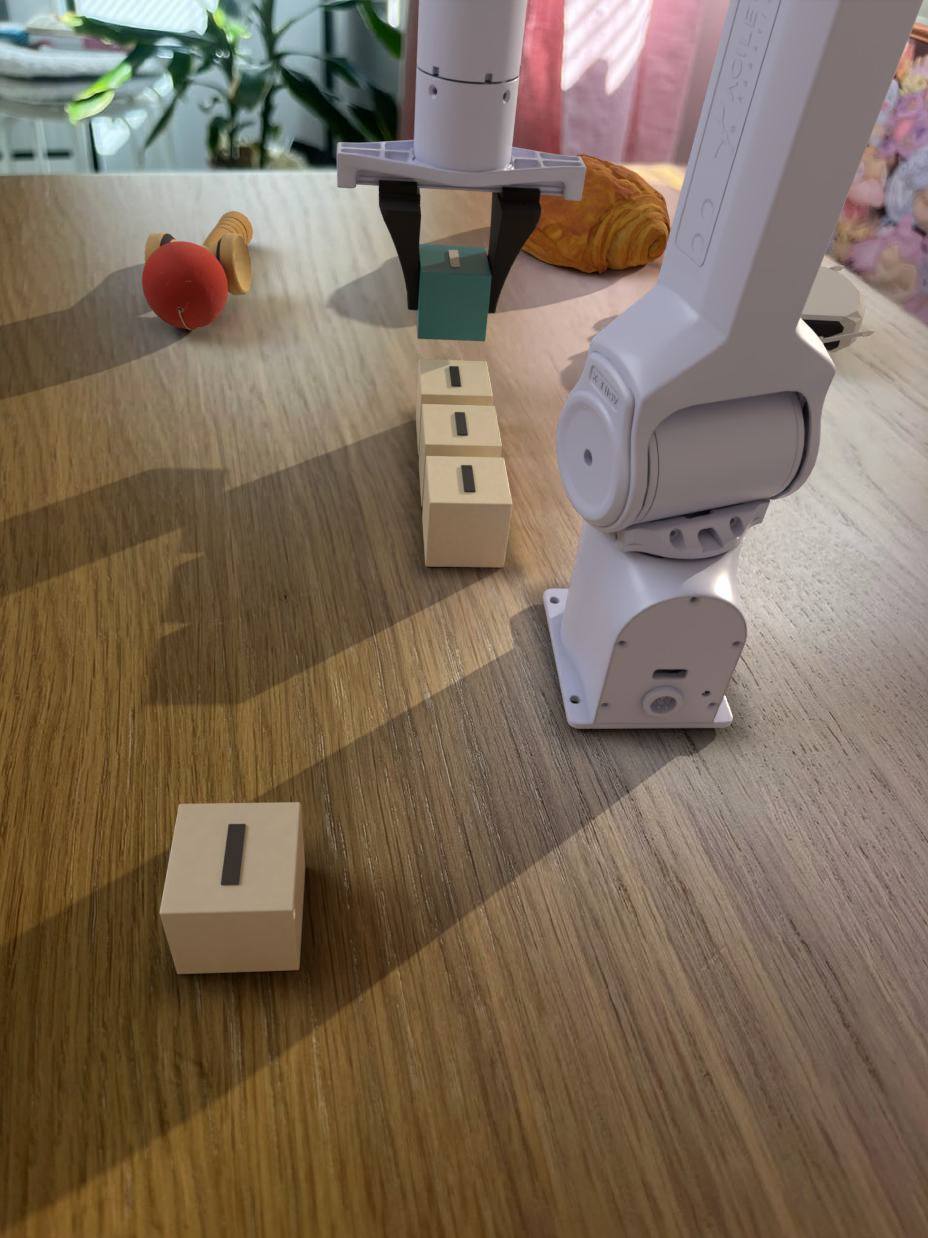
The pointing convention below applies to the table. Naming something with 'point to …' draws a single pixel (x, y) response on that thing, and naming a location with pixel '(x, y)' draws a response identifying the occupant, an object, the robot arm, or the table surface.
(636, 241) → the croissant
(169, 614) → the table surface
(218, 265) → the kendama
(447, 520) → the beige cube
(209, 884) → the beige slotted box
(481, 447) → the tan wooden cube
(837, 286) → the robot toy
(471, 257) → the teal cube
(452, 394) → the cream cube block
